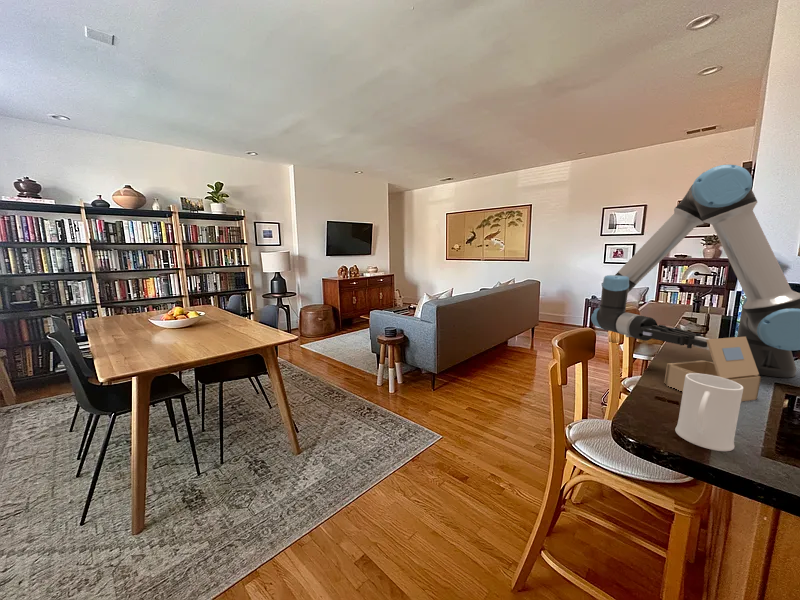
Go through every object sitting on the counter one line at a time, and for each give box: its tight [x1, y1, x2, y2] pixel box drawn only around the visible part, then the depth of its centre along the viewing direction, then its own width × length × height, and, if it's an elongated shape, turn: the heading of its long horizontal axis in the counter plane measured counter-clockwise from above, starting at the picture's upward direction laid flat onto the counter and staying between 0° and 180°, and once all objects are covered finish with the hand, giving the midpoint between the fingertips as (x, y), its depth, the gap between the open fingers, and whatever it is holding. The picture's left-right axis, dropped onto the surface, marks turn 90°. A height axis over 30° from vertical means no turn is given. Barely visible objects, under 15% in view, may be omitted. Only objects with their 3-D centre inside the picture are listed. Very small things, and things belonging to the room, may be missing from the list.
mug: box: [674, 373, 743, 452], centre depth 62 cm, size 12×8×12 cm
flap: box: [706, 336, 760, 378], centre depth 80 cm, size 13×1×10 cm, turn 104°
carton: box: [663, 359, 762, 402], centre depth 85 cm, size 15×13×6 cm
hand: (724, 348), depth 82 cm, fingers closed
